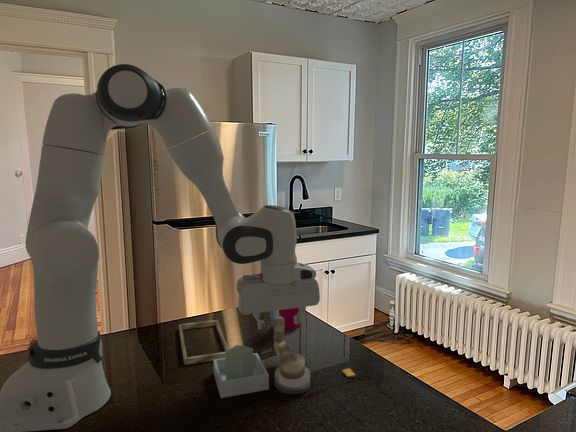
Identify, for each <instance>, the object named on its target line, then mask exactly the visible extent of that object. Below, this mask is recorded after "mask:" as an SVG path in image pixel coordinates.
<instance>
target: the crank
mask: <svg viewBox="0 0 576 432" xmlns="http://www.w3.org/2000/svg"><path fill="white" fill-rule="evenodd" d="M273 343H274V344H273V345H274V347H273V349H274V352H275V353H276V355H277V357H278V358H279V367H280V374H281V375H282V376H284V377H286V378H299V377H301V376H303V375H304V374H305V367H306V358H305V357H304V356H303V355H302V354H299V353H294V352H293V351H292V349H290V347H289V346H288V344H287V343H286V341H285V328H284V318H283V317H281V316H276V317H273Z"/></svg>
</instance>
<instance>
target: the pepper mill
mask: <svg viewBox="0 0 576 432" xmlns="http://www.w3.org/2000/svg"><path fill="white" fill-rule="evenodd" d="M299 310H300V309H299V308H292V309H285V310H278V314H279V317H283V318H284V329H288V330H289V329H291V330H292V329H297V328H299V327H301V325H302V323H301V324H295V323H294V316H295V315H297V314H298V312H299Z"/></svg>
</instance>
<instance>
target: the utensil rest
mask: <svg viewBox="0 0 576 432" xmlns="http://www.w3.org/2000/svg"><path fill="white" fill-rule="evenodd" d="M208 327H216V331H217V334H218V336H219V339H220V341H221V345H222V347H223V350H224V351H219V352H216V353H215V352H213V353H209V354H208V353H206V354H202V355H195V356H194V355H193V356H188V355H187V349H186V344H185V337H184V331H183V330H191V329H199V328H208ZM178 331H179V338H180V347H181V352H182V353H181V354H182V359H183V364H184V366H186V365H194V364H200V363H207V362H213V360H215V359H221V358H225V352H227V351H228V350H230V347H229V345H228V343H227V340H226V338H225V337H226V336H225V335H224V333H223V330H222V327H221V325H220V322H219V320H218V319H212V320H203V321H197V322H196V321H195V322H188V323H181V324H178Z"/></svg>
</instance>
